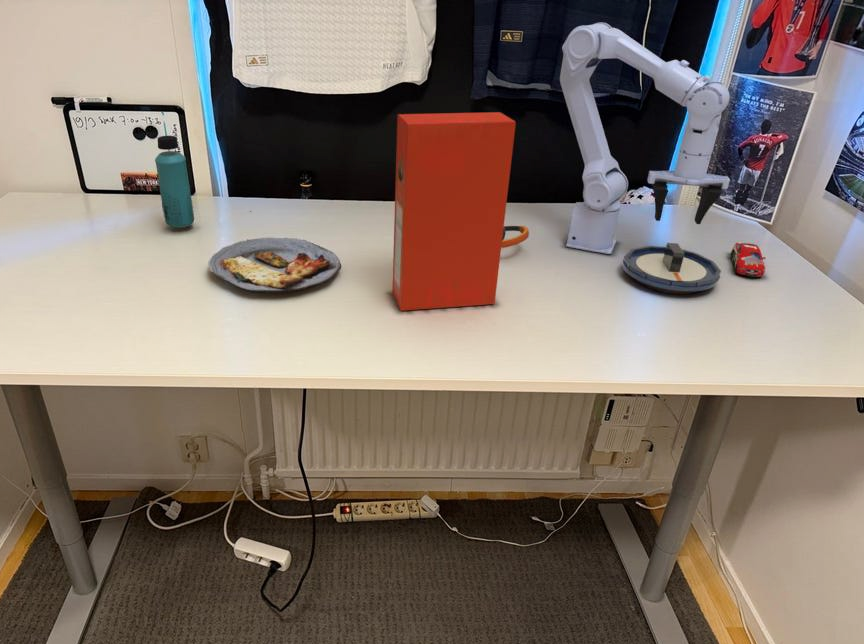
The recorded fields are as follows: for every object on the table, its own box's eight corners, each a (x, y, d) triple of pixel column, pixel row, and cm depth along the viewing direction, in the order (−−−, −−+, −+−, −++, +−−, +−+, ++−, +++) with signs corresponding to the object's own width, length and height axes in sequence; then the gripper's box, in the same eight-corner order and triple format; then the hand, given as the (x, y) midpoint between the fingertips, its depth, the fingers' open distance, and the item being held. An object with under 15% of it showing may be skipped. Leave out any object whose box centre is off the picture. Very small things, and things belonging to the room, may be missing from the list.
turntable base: (629, 285, 131) (630, 278, 131) (637, 261, 141) (638, 254, 141) (701, 299, 127) (703, 292, 126) (704, 273, 137) (706, 266, 136)
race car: (763, 282, 134) (770, 263, 132) (734, 277, 136) (740, 259, 134) (756, 256, 145) (762, 239, 143) (729, 252, 146) (734, 235, 144)
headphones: (456, 213, 155) (540, 211, 144) (459, 236, 158) (542, 235, 147) (420, 236, 143) (508, 236, 132) (424, 260, 146) (511, 262, 135)
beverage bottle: (202, 227, 152) (190, 135, 141) (179, 236, 147) (166, 142, 137) (181, 221, 155) (168, 131, 144) (158, 229, 150) (143, 137, 140)
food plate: (363, 274, 133) (364, 257, 131) (270, 313, 118) (268, 295, 117) (281, 239, 147) (280, 223, 145) (188, 270, 133) (186, 253, 131)
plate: (613, 250, 141) (618, 228, 139) (702, 255, 140) (709, 233, 138) (633, 288, 126) (638, 264, 124) (732, 294, 125) (740, 270, 123)
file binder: (391, 291, 127) (397, 113, 110) (480, 285, 130) (499, 111, 113) (401, 312, 120) (408, 125, 103) (494, 305, 123) (516, 122, 106)
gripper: (659, 154, 126) (642, 224, 133) (741, 160, 124) (720, 231, 131) (652, 145, 132) (637, 212, 139) (731, 150, 130) (711, 218, 137)
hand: (677, 220), depth 136 cm, fingers open, 7 cm apart
